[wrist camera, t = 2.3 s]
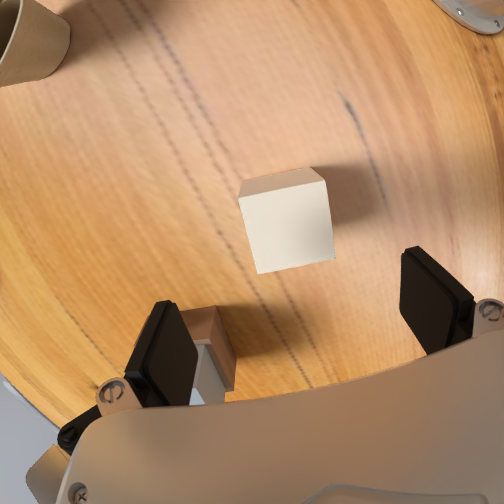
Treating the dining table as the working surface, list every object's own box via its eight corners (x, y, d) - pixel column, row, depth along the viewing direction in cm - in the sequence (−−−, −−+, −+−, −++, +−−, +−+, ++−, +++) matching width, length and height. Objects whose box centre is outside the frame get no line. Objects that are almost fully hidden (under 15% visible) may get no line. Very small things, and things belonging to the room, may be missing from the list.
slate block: (204, 343, 21) (195, 388, 17) (225, 388, 24) (221, 429, 20) (140, 349, 22) (123, 388, 18) (167, 391, 25) (157, 428, 21)
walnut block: (216, 304, 25) (209, 338, 21) (236, 357, 28) (233, 391, 24) (148, 314, 26) (133, 346, 22) (175, 363, 29) (166, 395, 25)
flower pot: (103, -2, 13) (44, -35, 5) (70, 99, 17) (-5, 102, 9) (32, 10, 12) (-27, -3, 4) (6, 97, 16) (-58, 106, 8)
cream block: (309, 166, 20) (325, 180, 15) (320, 229, 22) (335, 258, 17) (242, 180, 20) (237, 198, 16) (257, 242, 22) (257, 274, 18)
